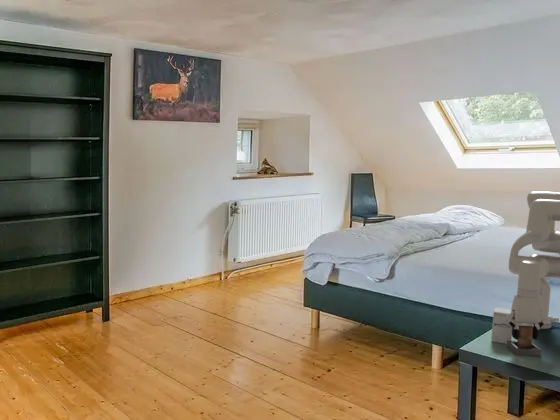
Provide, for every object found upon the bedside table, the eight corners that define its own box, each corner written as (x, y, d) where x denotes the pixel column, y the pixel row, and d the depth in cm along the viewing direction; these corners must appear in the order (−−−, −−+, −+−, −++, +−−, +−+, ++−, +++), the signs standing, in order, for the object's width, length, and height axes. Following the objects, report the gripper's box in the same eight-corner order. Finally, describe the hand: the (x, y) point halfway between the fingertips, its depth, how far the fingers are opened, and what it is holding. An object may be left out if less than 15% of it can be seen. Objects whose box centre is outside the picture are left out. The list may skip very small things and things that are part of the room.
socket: (529, 347, 209) (529, 340, 208) (541, 355, 200) (541, 349, 199) (506, 346, 208) (507, 340, 208) (517, 355, 200) (518, 349, 199)
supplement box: (490, 341, 214) (492, 311, 212) (492, 336, 220) (494, 306, 219) (510, 345, 210) (512, 314, 209) (512, 339, 217) (514, 309, 215)
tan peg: (527, 348, 207) (528, 324, 206) (533, 353, 202) (535, 328, 201) (514, 348, 207) (516, 323, 205) (520, 353, 202) (522, 328, 200)
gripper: (545, 290, 206) (541, 335, 208) (501, 290, 205) (497, 334, 207) (556, 296, 198) (552, 342, 200) (510, 295, 198) (506, 341, 200)
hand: (524, 338), depth 204 cm, fingers open, 6 cm apart
